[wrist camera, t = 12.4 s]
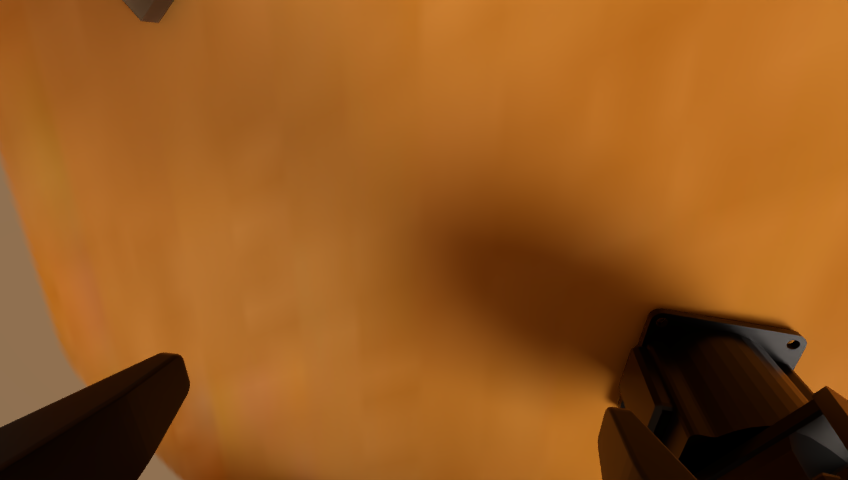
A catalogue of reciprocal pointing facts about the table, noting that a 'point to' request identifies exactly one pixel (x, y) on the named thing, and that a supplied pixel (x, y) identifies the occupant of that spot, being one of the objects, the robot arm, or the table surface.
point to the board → (149, 9)
